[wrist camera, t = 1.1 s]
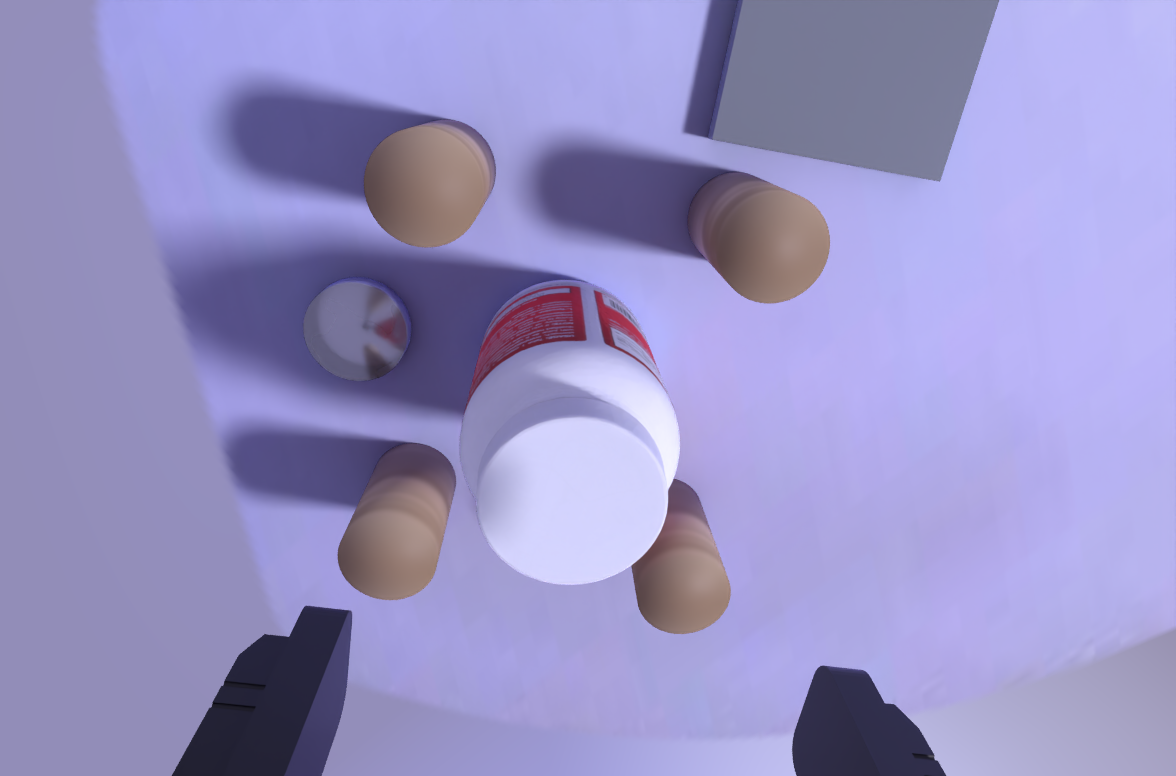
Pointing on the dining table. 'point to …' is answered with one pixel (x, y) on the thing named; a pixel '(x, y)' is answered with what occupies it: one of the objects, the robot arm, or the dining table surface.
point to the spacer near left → (429, 182)
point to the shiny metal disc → (357, 328)
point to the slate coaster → (852, 79)
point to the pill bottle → (568, 435)
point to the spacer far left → (399, 523)
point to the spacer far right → (682, 569)
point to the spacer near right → (759, 236)
